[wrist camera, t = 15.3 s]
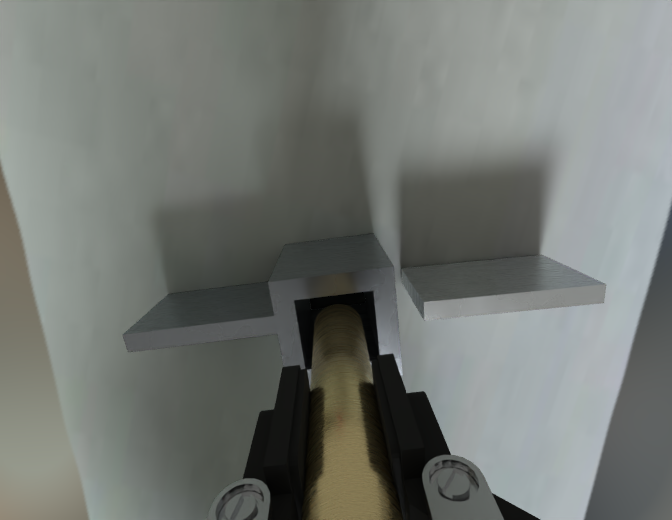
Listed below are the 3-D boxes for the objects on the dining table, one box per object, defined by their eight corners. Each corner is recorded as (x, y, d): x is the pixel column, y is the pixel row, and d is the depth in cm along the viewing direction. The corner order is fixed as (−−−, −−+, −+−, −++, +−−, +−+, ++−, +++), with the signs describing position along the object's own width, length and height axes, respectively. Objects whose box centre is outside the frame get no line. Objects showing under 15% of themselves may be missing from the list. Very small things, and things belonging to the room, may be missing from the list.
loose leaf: (541, 269, 23) (603, 303, 18) (402, 283, 23) (424, 320, 18) (542, 254, 23) (606, 284, 18) (401, 268, 23) (423, 302, 18)
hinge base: (381, 314, 24) (402, 376, 18) (180, 339, 24) (125, 409, 18) (373, 233, 23) (393, 266, 16) (159, 260, 23) (89, 304, 16)
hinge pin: (364, 344, 17) (426, 658, 6) (317, 350, 17) (304, 672, 6) (359, 301, 16) (420, 572, 6) (311, 307, 16) (285, 587, 6)
